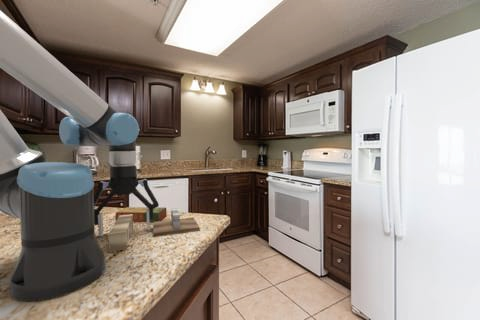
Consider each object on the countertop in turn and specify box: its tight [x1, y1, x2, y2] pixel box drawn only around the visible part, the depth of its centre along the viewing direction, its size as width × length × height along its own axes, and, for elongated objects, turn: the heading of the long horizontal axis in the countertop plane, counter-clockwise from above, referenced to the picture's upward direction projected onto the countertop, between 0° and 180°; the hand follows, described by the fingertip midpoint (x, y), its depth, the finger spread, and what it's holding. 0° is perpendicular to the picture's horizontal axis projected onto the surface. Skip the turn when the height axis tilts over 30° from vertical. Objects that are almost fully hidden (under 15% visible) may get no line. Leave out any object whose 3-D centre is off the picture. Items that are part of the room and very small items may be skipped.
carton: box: [114, 206, 168, 224], centre depth 87 cm, size 8×16×4 cm, turn 89°
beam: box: [108, 214, 134, 253], centre depth 68 cm, size 18×4×5 cm, turn 20°
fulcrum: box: [152, 207, 201, 237], centre depth 77 cm, size 12×14×5 cm
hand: (125, 231), depth 73 cm, fingers open, 13 cm apart
